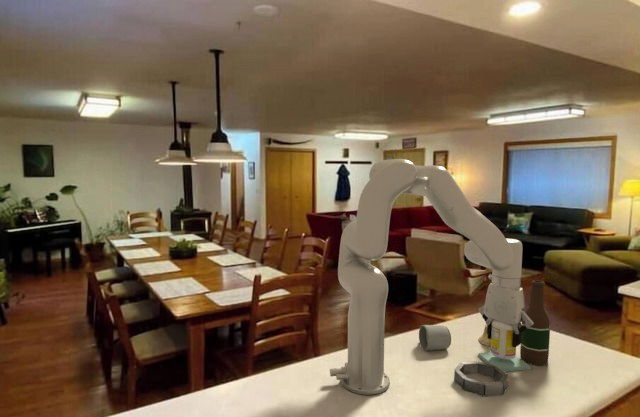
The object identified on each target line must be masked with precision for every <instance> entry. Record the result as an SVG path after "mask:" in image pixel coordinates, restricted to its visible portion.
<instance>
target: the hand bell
mask: <svg viewBox="0 0 640 417" xmlns="http://www.w3.org/2000/svg"><path fill="white" fill-rule="evenodd" d="M478 342H479V343H480V344H481V345H484V346H487V347H491V339H488V334H487V325H486V324H485V325H484V329H483V333H482V335H481V336H479V338H478Z"/></svg>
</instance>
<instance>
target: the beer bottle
mask: <svg viewBox="0 0 640 417" xmlns="http://www.w3.org/2000/svg"><path fill="white" fill-rule="evenodd" d="M530 285H531V290H530V291H531V292H530V300H529V304H528V307H527V308H525V313H526V314H527V315H528V317H529V318H530V319H531V320H532V321H533V323H534V324H533V325H532V326H531V327H529V328H528V329H526V330H525V331H523V332H522V335H521V344H520V347H519V348H520V349H519V352H520V353H519V357H520V358H519V359H521V360H522V361H524V362H525V363H526V364H528V365H533V366H537V367H538V366H539V367H540V366H547V364H548V362H549V355H550V338H551V337H550V335H551V334H550V333H551V318H550V315H549V313H548V311H547V310H546V307H545V294H544V293H545V292H544V291H545V290H544V289H545V285H546V284H545V281H542V280H539V279H533V280H531V283H530ZM521 324H522V326H523V325H525V321H523V322H521Z"/></svg>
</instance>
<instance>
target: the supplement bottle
mask: <svg viewBox="0 0 640 417" xmlns="http://www.w3.org/2000/svg"><path fill="white" fill-rule="evenodd" d="M513 333H515V331H514V328H513V326H512V325H511V324H507V323H504V322H500V321H497V320H493V321H492V334H491V346H490V352H491V353H492V354H493V355H494V356H495V357H498V358H501V359H513V358H514V357H515V356H517V354H516V353H517V347H513V346H512V340H513Z"/></svg>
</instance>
